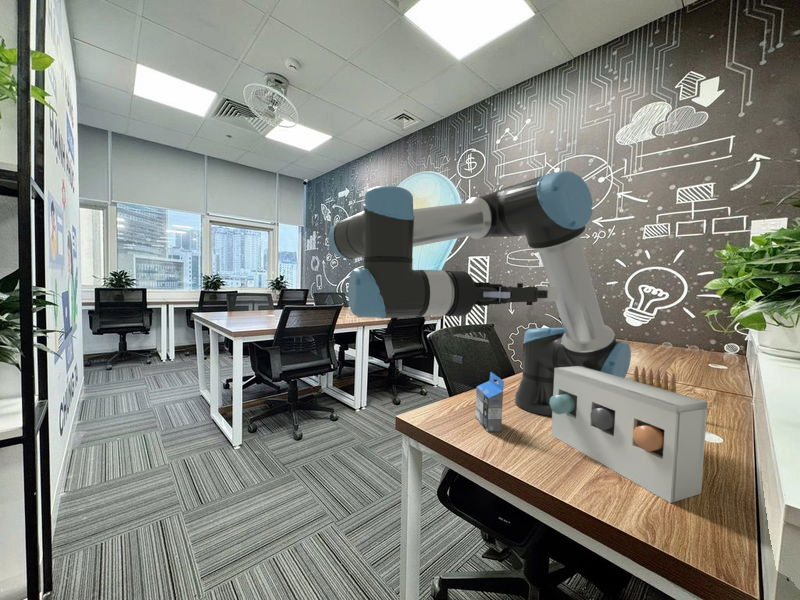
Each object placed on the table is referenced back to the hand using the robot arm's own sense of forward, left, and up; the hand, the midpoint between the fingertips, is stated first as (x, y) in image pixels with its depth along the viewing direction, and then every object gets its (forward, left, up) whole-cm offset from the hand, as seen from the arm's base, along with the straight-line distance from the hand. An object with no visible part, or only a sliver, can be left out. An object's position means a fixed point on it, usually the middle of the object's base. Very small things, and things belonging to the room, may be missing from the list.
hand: (554, 294), depth 61 cm
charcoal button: (+2, +12, -26) cm, 29 cm away
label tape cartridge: (-20, 0, -34) cm, 39 cm away
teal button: (-6, +10, -26) cm, 29 cm away
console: (+2, +15, -33) cm, 37 cm away
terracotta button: (+11, +12, -26) cm, 31 cm away
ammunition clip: (-15, +53, -34) cm, 65 cm away
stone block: (-30, +66, -34) cm, 80 cm away
